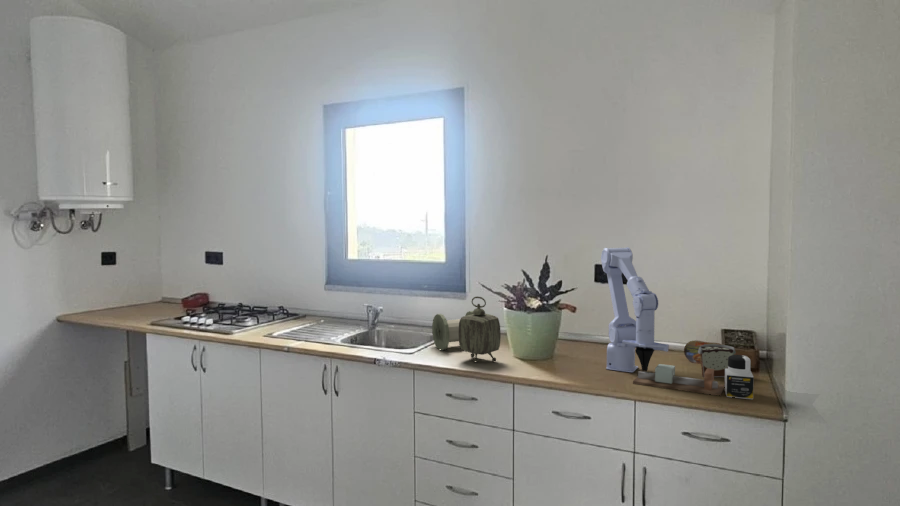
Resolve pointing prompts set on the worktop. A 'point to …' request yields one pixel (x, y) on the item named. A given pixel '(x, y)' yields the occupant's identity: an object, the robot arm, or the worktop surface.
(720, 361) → the food container
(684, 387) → the rail board
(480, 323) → the tabletop clock
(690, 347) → the tin
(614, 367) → the robot arm
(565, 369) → the worktop surface
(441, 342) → the spool
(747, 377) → the medicine bottle
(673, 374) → the pale green block
